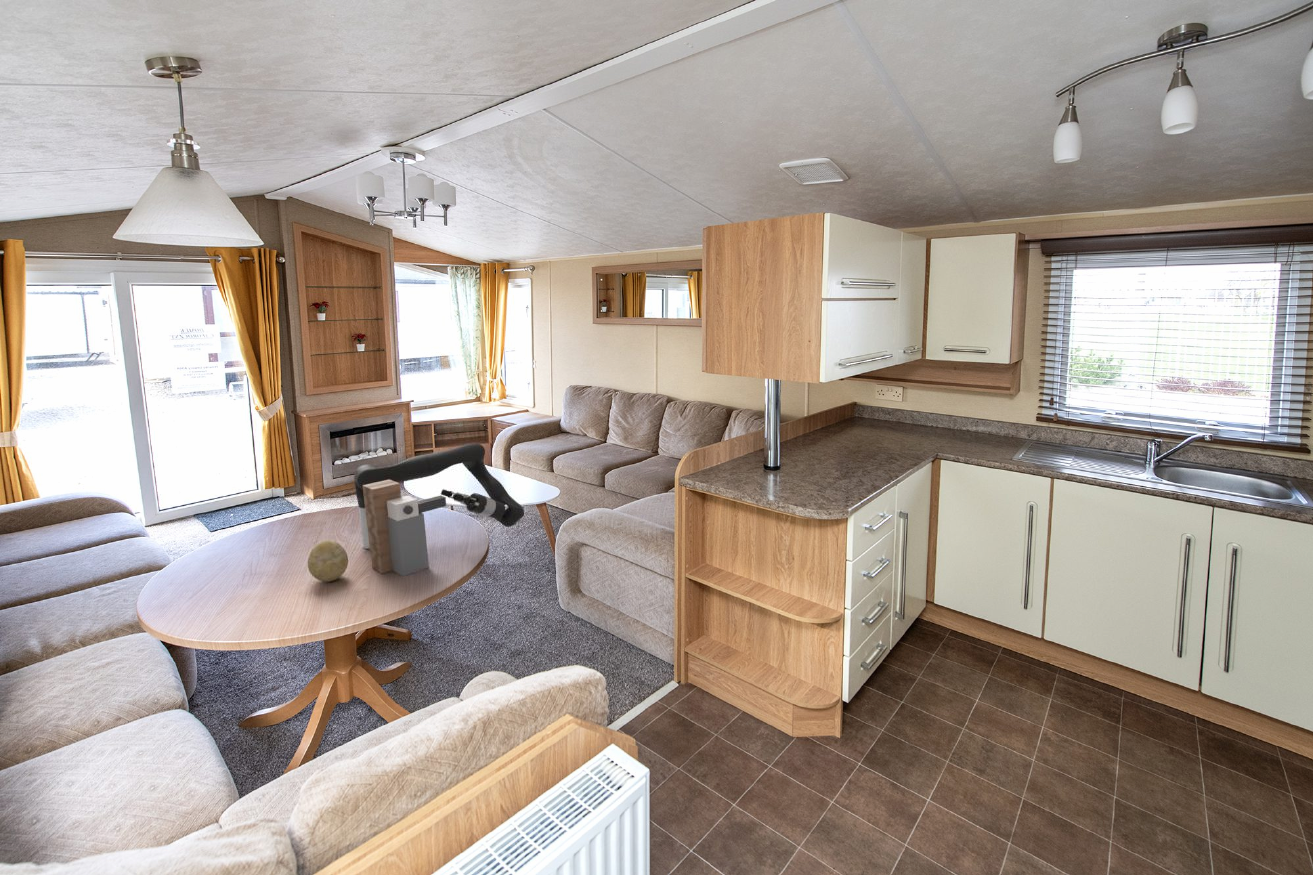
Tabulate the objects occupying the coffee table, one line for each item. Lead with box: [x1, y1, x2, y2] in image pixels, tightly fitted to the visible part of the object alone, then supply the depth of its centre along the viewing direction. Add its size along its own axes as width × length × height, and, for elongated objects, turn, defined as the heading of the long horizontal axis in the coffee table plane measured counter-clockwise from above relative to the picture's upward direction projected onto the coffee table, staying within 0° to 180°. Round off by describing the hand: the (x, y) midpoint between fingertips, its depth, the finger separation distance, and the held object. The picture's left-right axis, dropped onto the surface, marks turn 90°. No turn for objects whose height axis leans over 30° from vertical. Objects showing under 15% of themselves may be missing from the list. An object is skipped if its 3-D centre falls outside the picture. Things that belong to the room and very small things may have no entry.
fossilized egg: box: [307, 539, 349, 583], centre depth 223 cm, size 13×13×15 cm
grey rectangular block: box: [387, 512, 430, 577], centre depth 231 cm, size 8×10×21 cm
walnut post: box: [363, 479, 402, 575], centre depth 232 cm, size 8×10×32 cm
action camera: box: [387, 494, 447, 521], centre depth 231 cm, size 9×20×6 cm, turn 138°
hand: (447, 493), depth 240 cm, fingers open, 8 cm apart
